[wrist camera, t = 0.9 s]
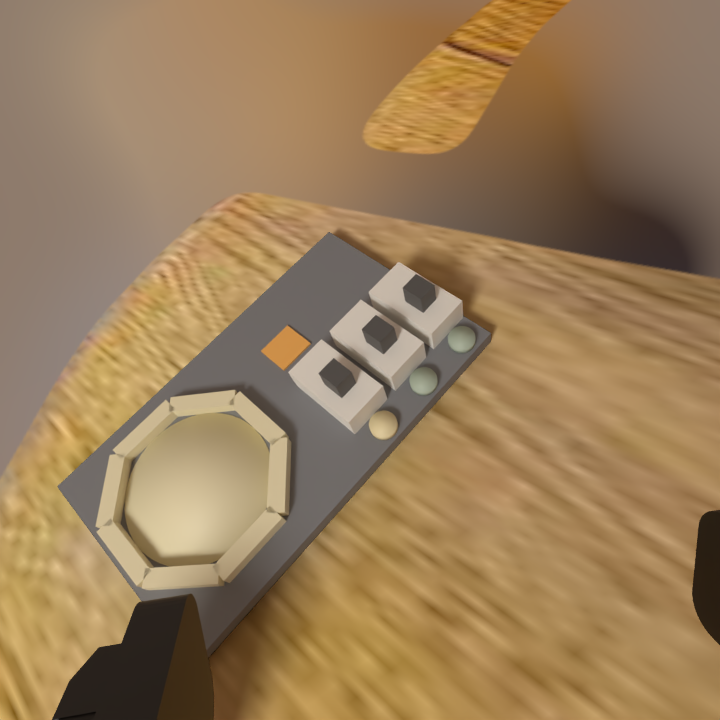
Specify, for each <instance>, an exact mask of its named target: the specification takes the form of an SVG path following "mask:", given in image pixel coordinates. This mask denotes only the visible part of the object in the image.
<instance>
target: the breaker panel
mask: <svg viewBox="0 0 720 720" xmlns="http://www.w3.org/2000/svg"><path fill="white" fill-rule="evenodd" d="M490 342H491V333H490V332H488V331H487V330H485V329H484V328H482V327H480V326H479V325H477V324H476V323H474V322H472V321H471V320H469V319H468V318H466V317H464V316H463V303H462V300H460V299H459V298H457V297H455V296H454V295H452V294H450V293H449V292H447V291H445V290H444V289H442V288H441V287H439V286H437V285H436V284H434V283H432V282H431V281H429V280H427V279H426V278H424V277H423V276H421V275H419V274H418V273H416V272H414V271H413V270H411V269H409V268H408V267H406V266H405V265H403V264H401V263H400V262H398V263H397V264H396V265H395V266H394V267H393V268H392V269H391V270H389V269H388V268H386V267H384V266H383V265H381V264H380V263H378V262H376V261H375V260H373V259H372V258H370V257H368V256H367V255H365V254H364V253H362V252H360V251H359V250H357V249H356V248H354V247H352V246H351V245H349V244H348V243H346V242H344V241H343V240H341V239H340V238H338V237H336V236H335V235H333V234H332V233H330V232H328V233H327V234H326V235H325V236H324V237H323V238H322V239H321V240H320V241H319V242H318V243H317V244H316V245H315V246H314V247H312V248H311V249H310V250H309V251H308V252H307V253H306V254H305V255H304V256H303V257H302V258H301V259H300V260H299V261H297V262H296V263H295V264H294V265H293V266H292V267H291V268H290V269H289V270H288V271H287V272H286V273H285V274H284V275H283V276H281V277H280V278H279V279H278V280H277V281H276V282H275V283H274V284H273V285H272V286H271V287H270V288H269V289H268V290H267V291H265V292H264V293H263V294H262V295H261V296H260V297H259V298H258V299H257V300H256V301H255V302H254V303H253V304H252V305H251V306H249V307H248V308H247V309H246V310H245V311H244V312H243V313H242V314H241V315H240V316H239V317H238V318H237V319H236V320H235V321H233V322H232V323H231V324H230V325H229V326H228V327H227V328H226V329H225V330H224V331H223V332H222V333H221V334H220V335H219V336H217V337H216V338H215V339H214V340H213V341H212V342H211V343H210V344H209V345H208V346H207V347H206V348H205V349H204V350H202V351H201V352H200V353H199V354H198V355H197V356H196V357H195V358H194V359H193V360H192V361H191V362H190V363H189V364H188V365H186V366H185V367H184V368H183V369H182V370H181V371H180V372H179V373H178V374H177V375H176V376H175V377H174V378H173V379H172V380H170V381H169V382H168V383H167V384H166V385H165V386H164V387H163V388H162V389H161V390H160V391H159V392H158V393H157V394H156V395H154V396H153V397H152V398H151V399H150V400H149V401H148V402H147V403H146V404H145V405H144V406H143V407H142V408H141V409H140V410H138V411H137V412H136V413H135V414H134V415H133V416H132V417H131V418H130V419H129V420H128V421H127V422H126V423H125V424H124V425H122V426H121V427H120V428H119V429H118V430H117V431H116V432H115V433H114V434H113V435H112V436H111V437H110V438H109V439H107V440H106V441H105V442H104V443H103V444H102V445H101V446H100V447H99V448H98V449H97V450H96V451H95V452H94V453H93V454H91V455H90V456H89V457H88V458H87V459H86V460H85V461H84V462H83V463H82V464H81V465H80V466H79V467H78V468H77V469H75V470H74V471H73V472H72V473H71V474H70V475H69V476H68V477H67V478H66V479H65V480H64V481H63V482H62V483H61V484H59V485H58V486H57V487H58V488H59V490H60V491H61V492H62V494H63V495H64V497H65V498H66V499H67V501H68V502H69V503H70V505H71V506H72V507H73V509H74V510H75V511H76V513H77V514H78V516H79V517H80V518H81V520H82V521H83V522H84V524H85V525H86V526H87V528H88V529H89V530H90V532H91V533H92V535H93V536H94V537H95V539H96V540H97V541H98V543H99V544H100V545H101V547H102V548H103V549H104V551H105V552H106V554H107V555H108V556H109V558H110V559H111V560H112V562H113V563H114V564H115V566H116V567H117V568H118V570H119V571H120V573H121V574H122V575H123V577H124V578H125V579H126V581H127V582H128V583H129V585H130V586H131V587H132V589H133V590H134V592H135V593H136V594H137V596H138V597H139V598H140V600H141V601H148V600H154V599H160V598H167V597H173V596H179V595H185V594H193V596H194V598H195V600H196V603H197V607H198V612H199V617H200V622H201V626H202V631H203V636H204V641H205V646H206V650H207V655H208V658H209V656H210V655H211V654H212V653H213V652H214V651H215V650H216V649H217V648H218V646H219V645H220V644H221V643H222V642H223V641H224V640H225V639H226V637H227V636H228V635H229V634H230V633H231V632H232V631H233V630H234V628H235V627H236V626H237V625H238V624H239V623H240V622H241V621H242V620H243V618H244V617H245V616H246V615H247V614H248V613H249V612H250V611H251V609H252V608H253V607H254V606H255V605H256V604H257V603H258V602H259V600H260V599H261V598H262V597H263V596H264V595H265V594H266V593H267V592H268V590H269V589H270V588H271V587H272V586H273V585H274V584H275V583H276V581H277V580H278V579H279V578H280V577H281V576H282V575H283V574H284V572H285V571H286V570H287V569H288V568H289V567H290V566H291V565H292V564H293V562H294V561H295V560H296V559H297V558H298V557H299V556H300V555H301V553H302V552H303V551H304V550H305V549H306V548H307V547H308V546H309V544H310V543H311V542H312V541H313V540H314V539H315V538H316V537H317V536H318V534H319V533H320V532H321V531H322V530H323V529H324V528H325V527H326V525H327V524H328V523H329V522H330V521H331V520H332V519H333V518H334V517H335V515H336V514H337V513H338V512H339V511H340V510H341V509H342V508H343V506H344V505H345V504H346V503H347V502H348V501H349V500H350V499H351V497H352V496H353V495H354V494H355V493H356V492H357V491H358V490H359V489H360V487H361V486H362V485H363V484H364V483H365V482H366V481H367V480H368V478H369V477H370V476H371V475H372V474H373V473H374V472H375V471H376V469H377V468H378V467H379V466H380V465H381V464H382V463H383V462H384V461H385V459H386V458H387V457H388V456H389V455H390V454H391V453H392V452H393V450H394V449H395V448H396V447H397V446H398V445H399V444H400V443H401V441H402V440H403V439H404V438H405V437H406V436H407V435H408V434H409V433H410V431H411V430H412V429H413V428H414V427H415V426H416V425H417V424H418V422H419V421H420V420H421V419H422V418H423V417H424V416H425V415H426V413H427V412H428V411H429V410H430V409H431V408H432V407H433V406H434V405H435V403H436V402H437V401H438V400H439V399H440V398H441V397H442V396H443V394H444V393H445V392H446V391H447V390H448V389H449V388H450V387H451V385H452V384H453V383H454V382H455V381H456V380H457V379H458V378H459V377H460V375H461V374H462V373H463V372H464V371H465V370H466V369H467V368H468V366H469V365H470V364H471V363H472V362H473V361H474V360H475V359H476V358H477V356H478V355H479V354H480V353H481V352H482V351H483V350H484V349H485V347H486V346H487V345H488V344H489V343H490Z"/></svg>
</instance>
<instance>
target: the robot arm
mask: <svg viewBox="0 0 720 720" xmlns="http://www.w3.org/2000/svg"><path fill="white" fill-rule="evenodd" d="M692 596H693V602H694V606H695V610H696V612H697V615H698V617H699V619H700V621H701V623H702V625H703V626H704V628H705V629H706V631H707V632H708V633H709V634H710V635H711V636H712V638H713V639H714V640H715V641H716V642H717V643H718V644H719V645H720V510H716V511H709V512H707V513H705V514H704V515H703V516H702V517H701V519H700V522H699V528H698V538H697V548H696V559H695V569H694V579H693V590H692ZM213 717H214V692H213V681H212V675H211V670H210V665H209V660H208V655H207V650H206V646H205V641H204V636H203V631H202V626H201V622H200V617H199V612H198V607H197V603H196V600H195V598H194V596H193V594H185V595H179V596H173V597H167V598H160V599H154V600H148V601H142V602H139V603H138V604H137V605H136V607H135V609H134V611H133V614H132V616H131V619H130V622H129V625H128V627H127V630H126V633H125V635H124V638H123V641H122V643H121V644H116V645H110V646H104V647H99V648H98V649H97V650H96V651H95V653H94V654H93V655H92V656H91V657H90V658H89V659H88V661H87V662H86V663H85V664H84V665H83V666H82V667H81V668H80V670H79V671H78V672H77V673H76V674H75V675H74V676H73V678H72V679H71V680H70V681H69V683H68V685H67V688H66V690H65V692H64V694H63V697H62V699H61V701H60V703H59V705H58V708H57V710H56V712H55V714H54V717H53V719H52V720H213Z"/></svg>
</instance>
